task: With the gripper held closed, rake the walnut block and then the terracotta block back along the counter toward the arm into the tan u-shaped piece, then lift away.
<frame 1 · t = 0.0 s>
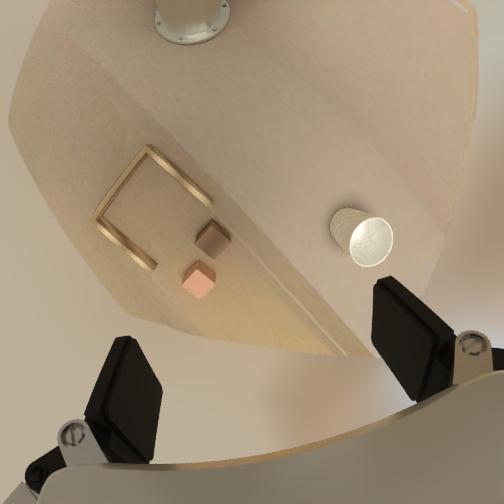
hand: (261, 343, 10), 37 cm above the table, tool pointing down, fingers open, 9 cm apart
white cup: (345, 225, 49), on the table
walnut block: (213, 235, 47), on the table
terracotta block: (199, 274, 49), on the table
tan u-shaped piece: (150, 208, 44), on the table
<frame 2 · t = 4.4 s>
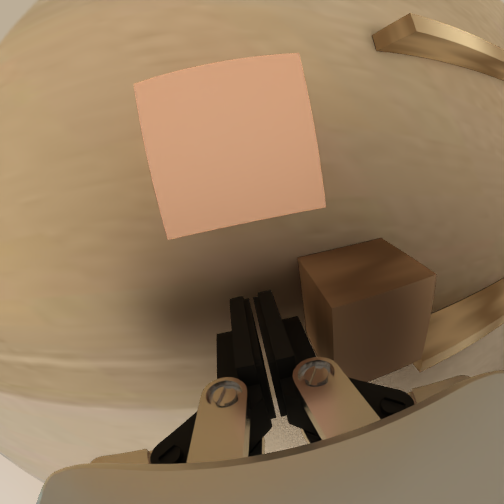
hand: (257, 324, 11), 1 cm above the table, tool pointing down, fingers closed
walnut block: (344, 287, 12), on the table, touching gripper
terracotta block: (227, 144, 10), on the table
tan u-shaped piece: (486, 188, 11), on the table
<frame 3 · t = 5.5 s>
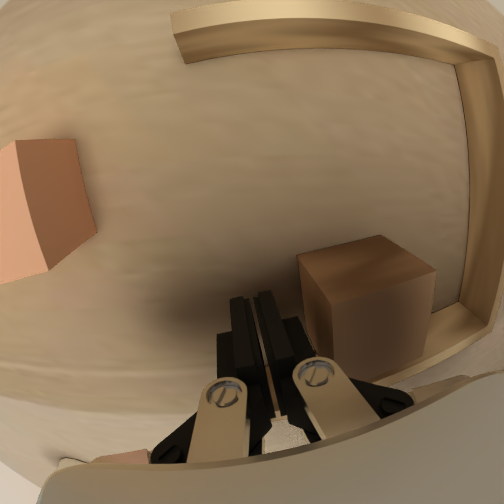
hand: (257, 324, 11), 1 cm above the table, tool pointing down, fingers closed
walnut block: (344, 285, 12), on the table, touching gripper
terracotta block: (49, 199, 9), on the table
tan u-shaped piece: (383, 206, 11), on the table
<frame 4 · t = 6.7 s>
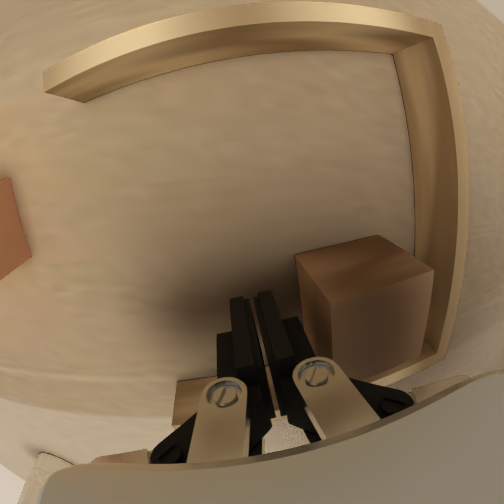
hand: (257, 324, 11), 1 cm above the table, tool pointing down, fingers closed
white cup: (65, 466, 18), on the table
walnut block: (341, 285, 12), on the table, touching gripper
tan u-shaped piece: (290, 226, 11), on the table
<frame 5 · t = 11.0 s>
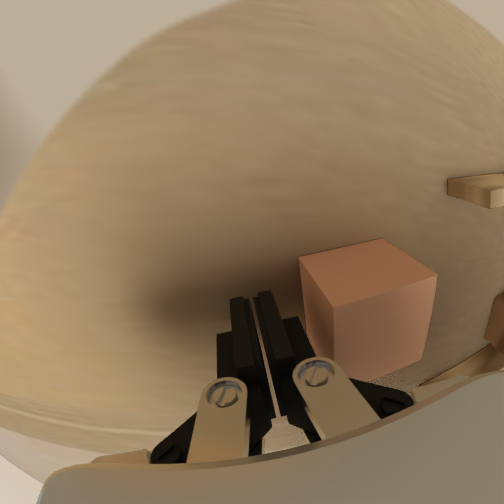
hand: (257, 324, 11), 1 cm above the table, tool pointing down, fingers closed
walnut block: (502, 309, 15), on the table
terracotta block: (344, 287, 12), on the table, touching gripper
tan u-shaped piece: (499, 280, 14), on the table
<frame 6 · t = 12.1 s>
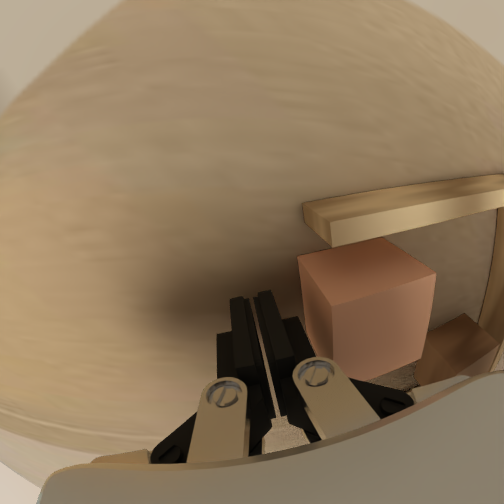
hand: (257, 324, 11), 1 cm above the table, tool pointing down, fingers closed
walnut block: (439, 345, 15), on the table
terracotta block: (343, 286, 12), on the table, touching gripper
tan u-shaped piece: (426, 316, 14), on the table
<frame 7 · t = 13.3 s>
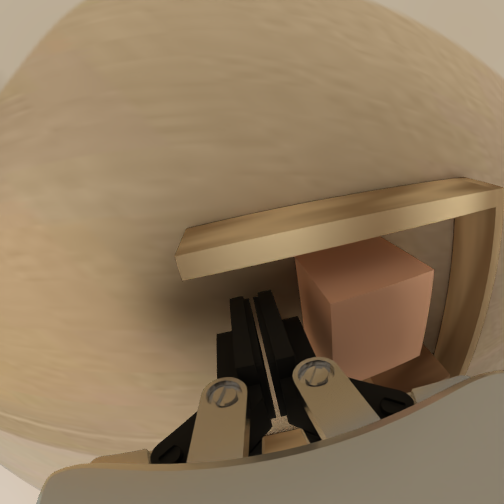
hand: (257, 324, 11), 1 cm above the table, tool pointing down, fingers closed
walnut block: (385, 368, 15), on the table
terracotta block: (341, 285, 12), on the table, touching gripper
tan u-shaped piece: (360, 340, 14), on the table
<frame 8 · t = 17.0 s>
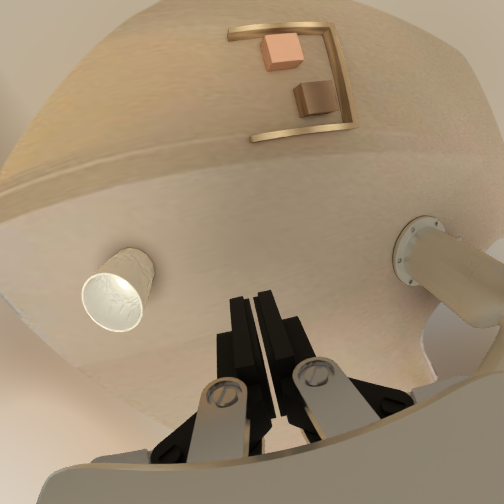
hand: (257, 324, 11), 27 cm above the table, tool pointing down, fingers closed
white cup: (133, 268, 38), on the table
walnut block: (310, 101, 33), on the table
terracotta block: (278, 56, 30), on the table
tan u-shaped piece: (291, 79, 31), on the table
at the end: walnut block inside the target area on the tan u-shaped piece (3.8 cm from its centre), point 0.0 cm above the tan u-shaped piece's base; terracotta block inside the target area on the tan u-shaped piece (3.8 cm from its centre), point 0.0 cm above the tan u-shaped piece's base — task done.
